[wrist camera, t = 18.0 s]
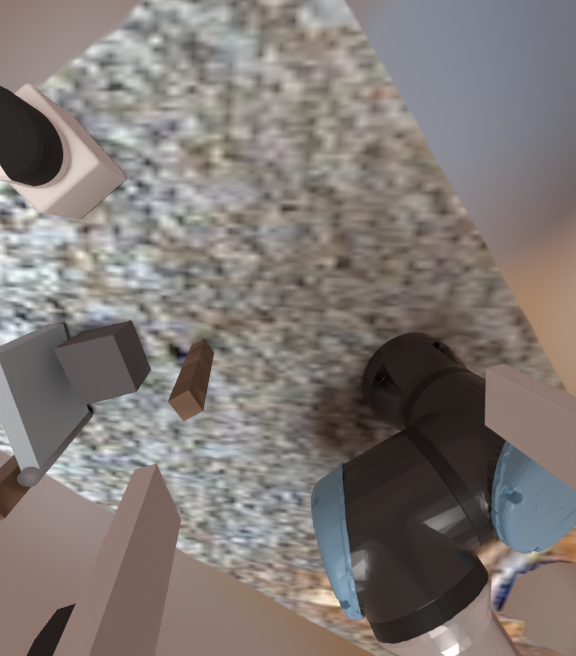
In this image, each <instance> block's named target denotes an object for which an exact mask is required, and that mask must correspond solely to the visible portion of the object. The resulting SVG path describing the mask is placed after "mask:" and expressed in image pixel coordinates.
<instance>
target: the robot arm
mask: <svg viewBox="0 0 576 656" xmlns="http://www.w3.org/2000/svg"><path fill="white" fill-rule="evenodd" d="M362 387H363V395H364V399H365V401H366V403H367V405H368V407H369V408H370V409H371V410H372V412H373V413H374V414H375V415H376V416H377V417H378V418H379V419H380V420H381V421H382V422H384V423H386V424H387V425H389V426H391V427H393V428H395V429H397V430H399V431H401V432H398V433H397V434H395V435H393V436H392V437H390V438H388V439H387V440H385V441H383V442H381V443H380V444H378V445H376V446H375V447H373V448H371V449H369V450H368V451H366V452H364V453H363V454H361V455H359V456H358V457H356V458H354V459H352V460H351V461H349V462H347V463H346V464H345V463H341V464H340V465H339V468H337V469H336V470H334V471H332V472H331V473H329V474H328V475H326V476H325V477H323V478H322V479H320V480H319V481H318V482H317V483H316V484H315V486H314V488H313V491H312V495H311V511H312V519H313V524H314V529H315V534H316V538H317V542H318V546H319V550H320V554H321V557H322V560H323V564H324V567H325V570H326V573H327V576H328V579H329V581H330V584H331V587H332V589H333V592H334V594H335V596H336V598H337V599H338V600H339V603H340V605H341V608H342V610H343V612H344V613H345V615H346V616H347V617H348V618H349V619H351V620H356V619H357V620H359V621H361V620H362V619H363V618H364V616H366V618H367V619H368V621H369V623H370V625H371V628H372V630H373V632H374V634H375V636H376V639H377V641H378V643H379V644H380V645H381V646H382V647H384V648H386V649H388V650H389V651H391V652H393V653H395V654H397V655H399V656H522V655H521V654H520V652H519V650H518V649H517V647H516V646H515V644H514V643H513V641H512V640H511V638H510V637H509V635H508V633H507V632H506V630H505V629H504V627H503V626H502V624H501V623H500V621H499V619H498V618H497V616H496V615H495V613H494V612H493V610H492V608H491V604H490V603H491V576H490V574H489V573H488V571H487V570H486V568H485V567H484V565H483V564H482V562H481V561H480V560H479V558H478V557H477V555H476V553H475V550H476V549H477V548H478V547H480V546H482V545H483V544H485V543H487V542H488V541H490V540H492V539H493V538H495V537H497V536H498V538H499V539H500V540H501V541H502V542H503V543H504V544H505V545H507V546H510V547H511V548H512V549H514V550H515V551H518V552H522V553H532V551H537V552H540V551H543V550H545V549H547V548H549V547H551V546H552V545H554V544H556V543H557V542H558V541H559V540H561V539H562V538H563V537H564V536H565V535H566V534H567V533H568V532H569V531H570V530H571V529H572V528H573V527H574V526H575V525H576V397H575V396H573V395H571V394H568V393H566V392H564V391H562V390H560V389H557V388H555V387H553V386H551V385H549V384H546V383H544V382H542V381H540V380H537V379H535V378H533V377H531V376H529V375H526V374H524V373H522V372H520V371H518V370H515V369H513V368H511V367H509V366H507V365H504V364H500V365H497V366H493V367H490V368H486V379H484V378H482V377H480V376H478V375H476V374H474V373H472V372H471V371H469V370H468V369H467V368H466V367H465V365H464V364H463V363H462V362H461V360H460V359H459V358H458V357H457V356H456V354H455V353H454V352H453V351H452V350H451V349H450V348H449V347H448V346H447V345H446V344H444V343H443V342H441V341H439V340H437V339H435V338H433V337H431V336H428V335H424V334H407V335H403V336H400V337H397V338H395V339H393V340H391V341H389V342H388V343H386V344H385V345H384V346H383V347H381V348H380V349H379V350H378V351H377V352H376V353H375V355H374V356H373V357H372V359H371V360H370V362H369V364H368V366H367V368H366V370H365V373H364V377H363V386H362ZM180 523H181V518H180V516H179V514H178V511H177V509H176V507H175V505H174V502H173V500H172V498H171V495H170V493H169V491H168V489H167V486H166V484H165V482H164V479H163V477H162V475H161V473H160V470H159V468H158V466H157V464H154V465H150V466H147V467H143V468H140V469H137V470H134V473H133V475H132V477H131V479H130V482H129V484H128V486H127V488H126V491H125V493H124V495H123V498H122V500H121V502H120V504H119V507H118V509H117V511H116V513H115V516H114V518H113V520H112V523H111V525H110V527H109V529H108V532H107V534H106V536H105V538H104V541H103V543H102V546H101V548H100V550H99V552H98V554H97V557H96V559H95V561H94V563H93V566H92V568H91V570H90V573H89V575H88V577H87V580H86V582H85V584H84V586H83V588H82V591H81V593H80V595H79V598H78V600H77V602H76V604H73V605H70V606H67V607H64V608H61V609H58V610H57V611H56V612H55V613H54V615H53V616H52V617H51V619H50V620H49V621H48V623H47V624H46V625H45V627H44V628H43V629H42V631H41V632H40V634H39V635H38V636H37V638H36V639H35V640H34V642H33V644H32V646H31V648H30V650H29V652H28V654H27V656H155V651H156V646H157V641H158V636H159V631H160V626H161V621H162V615H163V610H164V605H165V600H166V595H167V590H168V585H169V579H170V574H171V569H172V564H173V559H174V553H175V548H176V543H177V538H178V533H179V528H180Z"/></svg>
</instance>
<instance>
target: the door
mask: <svg viewBox="0 0 576 656" xmlns="http://www.w3.org/2000/svg"><path fill="white" fill-rule="evenodd" d="M66 341H68V339H67V335H66V332H65V328H64V325H63V324H54V325H47V326H45V327H43V328H40V329H38V330H36V331H33V332H31V333H29V334H27V335H24V336H22V337H20V338H18V339H15V340H13V341H11V342H9V343H6V344H4V345H2V346H0V419H1V422H2V424H3V427H4V429H5V432H6V434H7V437H8V439H9V442H10V444H11V447H12V450H13V452H14V455H15V457H16V460H17V462H18V465H19V467H20V470H21V473H20V474H19V475H18V477H17V481H18V483H19V484H20V485H22V486H25V487H32V486H35V485H36V484H37V483H38V482H39V481H40V480H41V478H42V477H43V476H44V475H45V474H46V472H47V471H48V470H49V469H50V467H51V466H52V465H53V464H54V463H55V461H56V460H57V459H58V458H59V456H60V455H61V454H62V453H63V452H64V450H65V449H66V448H67V447H68V445H69V444H70V443H71V442H72V441H73V439H74V438H75V437H76V436H77V434H78V433H79V432H80V431H81V430H82V428H83V427H84V426H85V425H86V423H87V422H88V421H89V420H90V419H91V417H92V412H91V411H90V410H89V409H88V407H87V405H83V406H81V404H80V402H79V400H78V398H77V396H76V394H75V392H74V390H73V387H72V385H71V383H70V381H69V379H68V377H67V375H66V373H65V371H64V369H63V367H62V365H61V363H60V361H59V359H58V357H57V355H56V353H55V351H54V348H56V347H57V346H59V345H61V344H63V343H64V342H66Z"/></svg>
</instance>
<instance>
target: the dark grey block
mask: <svg viewBox="0 0 576 656" xmlns="http://www.w3.org/2000/svg"><path fill="white" fill-rule="evenodd" d="M54 351H55V353H56V355H57V357H58V359H59V361H60V363H61V365H62V367H63V369H64V371H65V373H66V375H67V377H68V379H69V381H70V383H71V385H72V387H73V390H74V392H75V394H76V396H77V398H78V400H79V402H80V404H81V406H83V405H87V404H91V403H95V402H99V401H103V400H106V399H110V398H114V397H118V396H122V395H126V394H130V393H134V392H137V390H138V389H139V387H140V386H141V384H142V383H143V381H144V380H145V378H146V377H147V375H148V374H149V372H150V371H151V369H150V366H149V364H148V361H147V359H146V356H145V353H144V351H143V348H142V346H141V343H140V341H139V338H138V335H137V333H136V330H135V328H134V325H133V323H132V321H128V322H124V323H120V324H115V325H111V326H107V327H102V328H98V329H94V330H89V331H85V332H81V333H80V334H78V335H76V336H75V337H73V338H71V339H69V340H68V341H66V342H64V343H63V344H61V345H59V346H57V347H56V348H54Z"/></svg>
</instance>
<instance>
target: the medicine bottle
mask: <svg viewBox="0 0 576 656" xmlns="http://www.w3.org/2000/svg"><path fill="white" fill-rule="evenodd" d="M0 180H1V181H5V182H8V183H9V184H10V185H11V186H12V187H13V188H14V189H15V190H17V191H18V192H19V193H20V194H21V195H22V196H23V197H24V198H25V199H26V200H27V201H28V202H29V203H30V204H31V205H32V206H33V207H34V208H35V209H36V210H37V211H39V212H40V213H44V214H51V215H57V216H64V217H71V218H77V219H81V218H82V217H84V216H85V215H86V214H87V213H88V212H89V211H91V210H92V209H93V208H94V207H95V206H96V205H97V204H99V203H100V202H101V201H102V200H103V199H104V198H105V197H107V196H108V195H109V194H110V193H111V192H112V191H114V190H115V189H116V188H117V187H118V186H119V185H120V184H122V183H123V182H124V181H125V180H126V176H125V175H124V173H123V172H122V171H121V170H120V169H119V168H118V167H117V166H116V164H115V163H114V162H113V161H112V160H111V159H110V158H109V157H108V155H107V154H106V153H105V152H104V151H103V150H102V149H101V147H100V146H99V145H98V144H97V143H96V142H95V141H94V140H93V138H92V137H91V136H90V135H89V134H88V133H87V132H86V130H85V129H84V128H83V127H82V126H81V125H80V124H79V123H78V121H77V120H76V119H75V118H74V117H72V116H71V115H70V114H68V113H67V112H66V111H65V110H63V109H62V108H61V107H59V106H58V105H57V104H56V103H54V102H53V101H52V100H50V99H49V98H48V97H47V96H45V95H44V94H43V93H41V92H40V91H39V90H38V89H36V88H35V87H34V86H32V85H31V84H28V83H26V84H24V85H23V86H22V87H21V88H20V89H19V90H18V91H17V92H16V93H15V94H13V93H12V92H11V91H9V90H7V89H5V88H3V87H1V86H0Z"/></svg>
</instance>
